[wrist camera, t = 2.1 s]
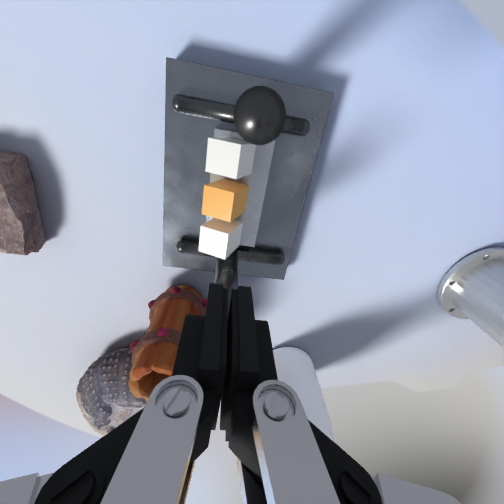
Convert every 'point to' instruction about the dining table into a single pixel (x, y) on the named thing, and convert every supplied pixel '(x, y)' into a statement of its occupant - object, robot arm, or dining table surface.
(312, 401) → the wine bottle
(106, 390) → the sea urchin shell
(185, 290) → the mug
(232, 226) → the white leaning block
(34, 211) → the stone
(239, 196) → the block
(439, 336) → the dining table surface
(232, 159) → the white tilted cube
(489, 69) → the dining table surface
